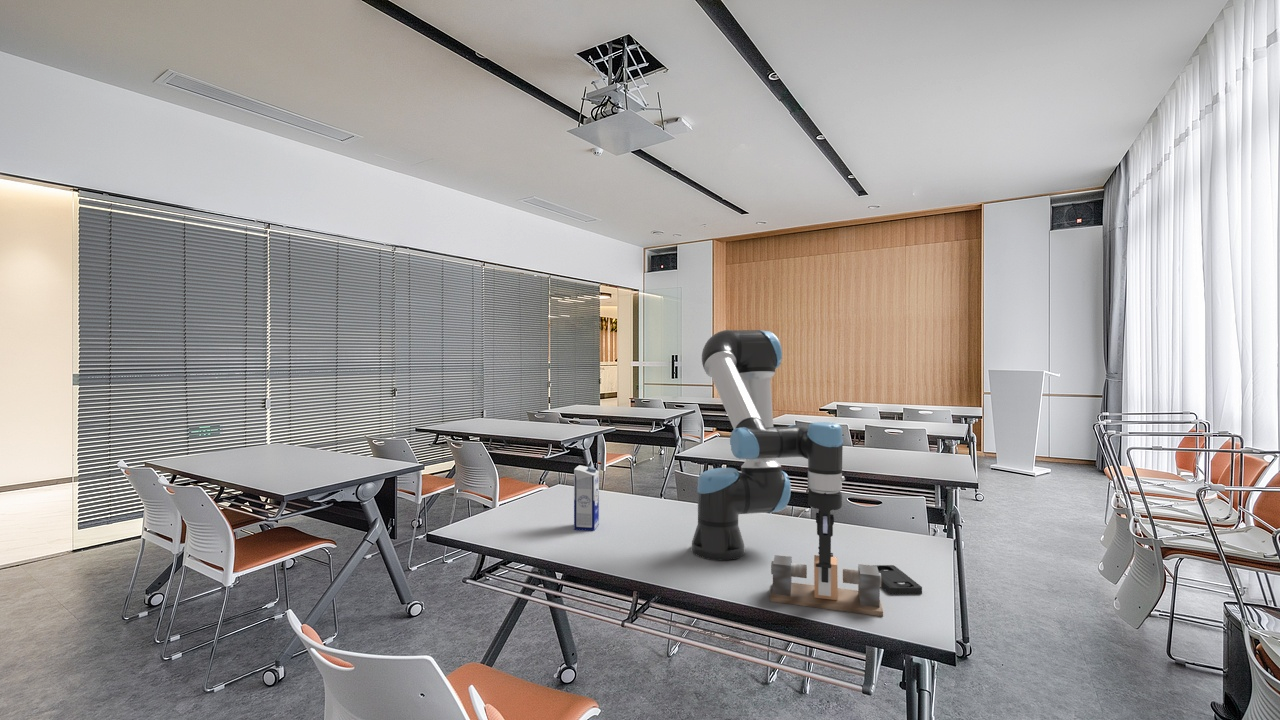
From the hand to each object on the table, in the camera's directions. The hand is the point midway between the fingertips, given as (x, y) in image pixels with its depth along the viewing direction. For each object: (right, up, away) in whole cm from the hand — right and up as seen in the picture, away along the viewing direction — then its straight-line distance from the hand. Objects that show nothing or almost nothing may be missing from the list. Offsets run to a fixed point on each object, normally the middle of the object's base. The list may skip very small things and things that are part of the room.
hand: (824, 589), depth 129 cm
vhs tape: (+20, -3, +10) cm, 23 cm away
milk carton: (-60, -2, +54) cm, 81 cm away
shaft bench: (0, -2, 0) cm, 2 cm away
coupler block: (0, -1, 0) cm, 1 cm away
